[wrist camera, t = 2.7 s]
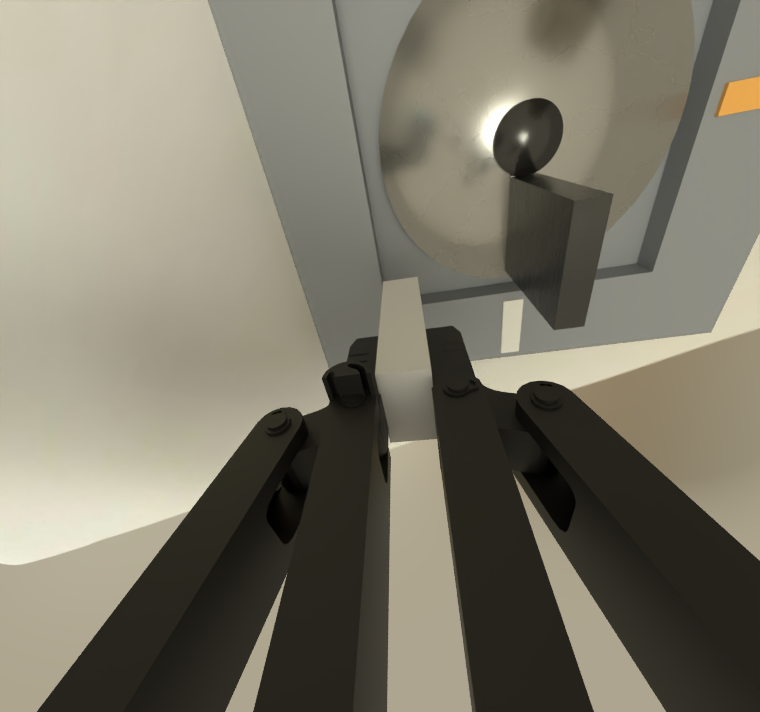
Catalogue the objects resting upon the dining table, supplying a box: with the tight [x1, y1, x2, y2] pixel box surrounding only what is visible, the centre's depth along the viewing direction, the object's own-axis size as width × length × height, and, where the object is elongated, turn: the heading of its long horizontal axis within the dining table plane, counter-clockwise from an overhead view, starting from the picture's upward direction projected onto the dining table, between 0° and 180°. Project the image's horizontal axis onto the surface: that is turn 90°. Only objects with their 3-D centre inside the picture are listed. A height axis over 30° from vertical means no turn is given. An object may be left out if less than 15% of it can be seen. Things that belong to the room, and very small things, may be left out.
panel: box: [208, 0, 760, 369], centre depth 17 cm, size 26×26×3 cm
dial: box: [379, 0, 695, 330], centre depth 13 cm, size 14×14×8 cm
